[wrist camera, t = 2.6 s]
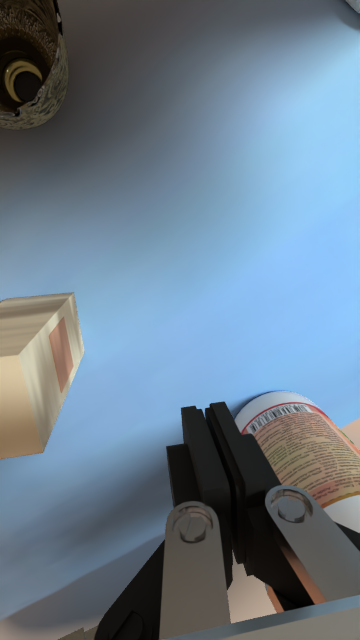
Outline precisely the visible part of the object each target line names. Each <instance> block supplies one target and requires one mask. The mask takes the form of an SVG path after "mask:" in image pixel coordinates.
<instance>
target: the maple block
mask: <svg viewBox="0 0 360 640" xmlns="http://www.w3.org/2000/svg"><path fill="white" fill-rule="evenodd" d="M83 354H84V346H83V341H82V335H81V330H80V324H79V319H78V313H77V308H76V302H75V297H74V292H73V293H62V294H52V295H41V296H31V297H20V298H10V299H5V300H4V301H2V302H0V459H4V458H11V457H18V456H25V455H32V454H39V453H43V452H44V449H45V447H46V444H47V442H48V440H49V437H50V435H51V432H52V430H53V427H54V425H55V422H56V420H57V417H58V415H59V413H60V410H61V408H62V405H63V403H64V400H65V398H66V395H67V393H68V390H69V388H70V386H71V383H72V381H73V378H74V376H75V373H76V371H77V368H78V366H79V363H80V361H81V359H82V356H83Z"/></svg>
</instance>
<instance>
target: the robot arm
mask: <svg viewBox="0 0 360 640" xmlns="http://www.w3.org/2000/svg"><path fill="white" fill-rule="evenodd" d="M346 1H347V3H348V4H349V5H350V6H351V7H352V8H353V9H354V10H355V11H356V12H358V13H359V14H360V0H346ZM181 415H182V427H183V439H184V444H179V445H172V446H166V449H167V459H168V468H169V477H170V484H171V492H172V499H173V506H174V509H173V510H172V511H171V513H170V514H169V516H168V518H167V522H166V531H165V540H164V541H163V542H162V543H161V545H160V546H159V547H158V548H157V550H156V551H155V552H154V553H153V555H152V556H151V557H150V558H149V560H148V561H147V562H146V563H145V565H144V566H143V567H142V568H141V570H140V571H139V572H138V573H137V575H136V576H135V577H134V578H133V580H132V581H131V582H130V583H129V585H128V586H127V587H126V588H125V590H124V591H123V592H122V594H121V595H120V596H119V597H118V598H117V600H116V601H115V602H114V604H113V605H112V606H111V607H110V608H109V610H108V611H107V612H106V613H105V615H104V617H103V618H102V620H101V621H100V623H99V625H98V626H96V627H94V628H92V629H90V630H88V631H86V632H84V628H81V629H79V630H77V631H75V632H73V633H71V634H68V635H66V636H64V637H62V638H60V639H58V640H360V533H358V532H356V531H354V530H352V529H350V528H348V527H345V526H343V525H341V524H339V523H337V522H334V521H333V520H332V519H331V518H330V517H329V515H328V514H327V513H326V512H325V511H324V510H323V508H322V507H321V506H320V505H319V504H318V503H317V501H316V500H315V499H314V498H313V497H312V496H311V495H310V494H309V493H308V492H306V491H304V490H303V489H301V488H298V487H295V486H292V485H282V484H281V482H280V481H279V479H278V477H277V475H276V474H275V472H274V470H273V468H272V467H271V465H270V463H269V461H268V460H267V458H266V456H265V454H264V453H263V451H262V449H261V447H260V446H259V444H258V442H257V440H256V439H255V437H254V436H253V434H251V433H249V434H243V435H242V434H241V432H240V431H239V429H238V427H237V425H236V423H235V421H234V419H233V417H232V415H231V413H230V411H229V409H228V407H227V405H226V403H225V402H218V403H211V404H210V408H205V417H204V414H203V411H202V409H196V406H190V407H183V408H181ZM205 418H206V420H205ZM232 549H233V552H234V556H235V559H236V562H237V563H238V564H242V563H243V564H244V568H245V571H246V574H247V576H250V575H254V576H255V577H256V578H258V579H260V580H261V581H263V582H264V583H265V588H266V591H267V594H268V596H269V598H270V600H271V602H272V604H273V606H274V608H275V610H276V612H277V613H276V614H272V615H267V616H263V617H258V618H254V619H250V620H245V621H241V622H236V623H232V624H231V621H230V613H229V604H228V595H227V590H228V588H229V587H230V585H231V583H232V580H233V578H232V565H233V556H232Z"/></svg>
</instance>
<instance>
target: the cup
mask: <svg viewBox="0 0 360 640" xmlns="http://www.w3.org/2000/svg"><path fill="white" fill-rule="evenodd" d="M23 72H28V73H31V74H33V75H34V76H36V77H37V78H38V80H39V82H40V84H41V88H40V90H39V91H38V93H37V96H36V97H35V98H34V99H32V100H30V101H27V102H26V101H24V100H22V99H21V98H20V97H19V96H18V94H17V93H16V90H15V79H16V77H17V76H18V75H19V74H21V73H23ZM68 79H69V63H68V53H67V47H66V42H65V36H64V31H63V26H62V21H61V16H60V12H59V8H58V3H57V0H0V127H1V128H6V129H14V130H21V129H29V128H34V127H37V126H39V125H41V124H43V123H45V122H46V121H48V120H49V119H50V118H52V117H53V116H54V115H55V113H56V112H57V111H58V109H59V108H60V106H61V104H62V102H63V100H64V98H65V95H66V91H67V86H68Z"/></svg>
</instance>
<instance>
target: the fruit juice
mask: <svg viewBox="0 0 360 640" xmlns="http://www.w3.org/2000/svg"><path fill="white" fill-rule="evenodd" d="M234 421H235V423H236V425H237V427H238V429H239V431H240V432H241V434H242V435H243V434H249V433H251V434H253V436H254V437H255V439H256V440H257V442H258V444H259V446H260V447H261V449H262V451H263V453H264V454H265V456H266V458H267V460H268V461H269V463H270V465H271V467H272V468H273V470H274V472H275V474H276V475H277V477H278V479H279V481H280V482H281V484H282V485H292V486H295V487H298V488H301V489H303V490H304V491H306V492H308V493H309V494H310V495H311V496H312V497H313V498H314V499H315V500H316V501H317V503H318V504H319V505H320V506H321V507H322V508H323V510H324V511H325V512H326V513H327V514H328V515H329V517H330V518H331V519H332V520H333V521H334V522H337V523H339V524H341V525H343V526H345V527H348V528H350V529H352V530H354V531H356V532H358V533H360V450H359V449H358V448H357V447H356V446H355V445H354V444H353V442H352V441H351V440H349V438H348V437H347V436H346V435H345V434H344V433H343V432H342V431H341V430H340V429H339V428H338V427H337V426H336V425H335V424H334V423H333V422H332V421H331V420H330V418H329V417H328V416H327V415H326V414H325V413H324V412H323V411H322V410H321V409H320V408H319V407H318V406H317V405H316V404H315V403H313V402H312V401H311V400H309V399H308V398H306V397H305V396H303V395H300V394H298V393H295V392H290V391H275V392H270V393H266V394H263V395H261V396H259V397H257V398H255V399H253V400H252V401H250V402H249V403H248V404H247V405H246V406H244V407H243V408H242V410H241V411H240V412H239V413H238V415H237V416H236V418H235V420H234Z"/></svg>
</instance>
